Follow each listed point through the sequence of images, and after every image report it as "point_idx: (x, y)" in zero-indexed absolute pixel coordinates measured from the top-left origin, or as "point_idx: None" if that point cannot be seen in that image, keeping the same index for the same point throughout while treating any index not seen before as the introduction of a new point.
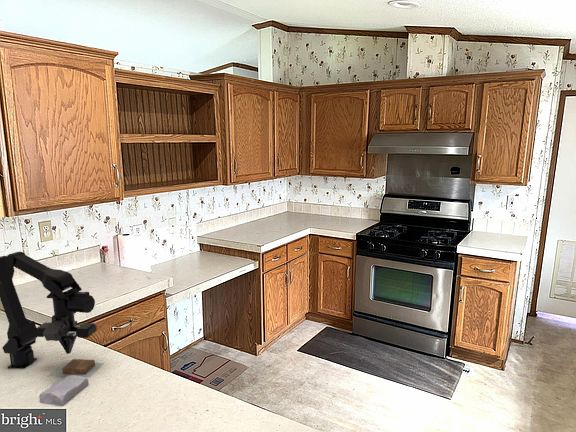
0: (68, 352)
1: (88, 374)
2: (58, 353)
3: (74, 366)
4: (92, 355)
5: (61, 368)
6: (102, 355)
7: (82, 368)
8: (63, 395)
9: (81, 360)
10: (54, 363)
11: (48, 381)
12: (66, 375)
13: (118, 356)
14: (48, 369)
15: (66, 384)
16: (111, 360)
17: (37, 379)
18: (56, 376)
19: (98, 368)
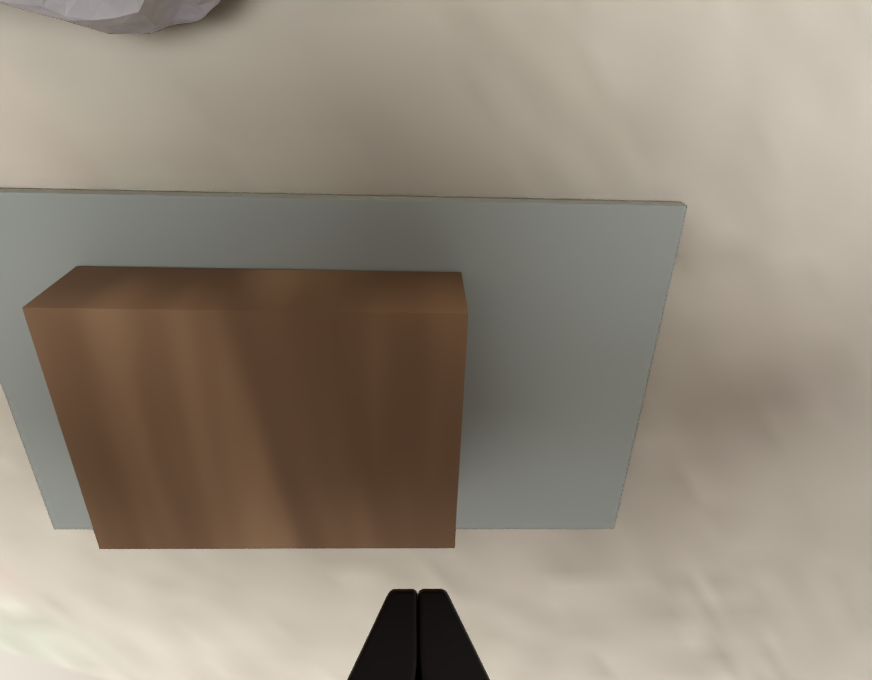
0: (392, 614)
1: (35, 272)
2: (767, 663)
3: (286, 377)
4: (351, 650)
5: (567, 404)
6: (232, 654)
7: (83, 322)
8: None
9: (294, 526)
10: (728, 507)
11: (598, 72)
12: (376, 234)
13: (21, 647)
14: (750, 388)
15: None
16: (34, 582)
17: (814, 130)
18: (526, 201)
19: (19, 420)
